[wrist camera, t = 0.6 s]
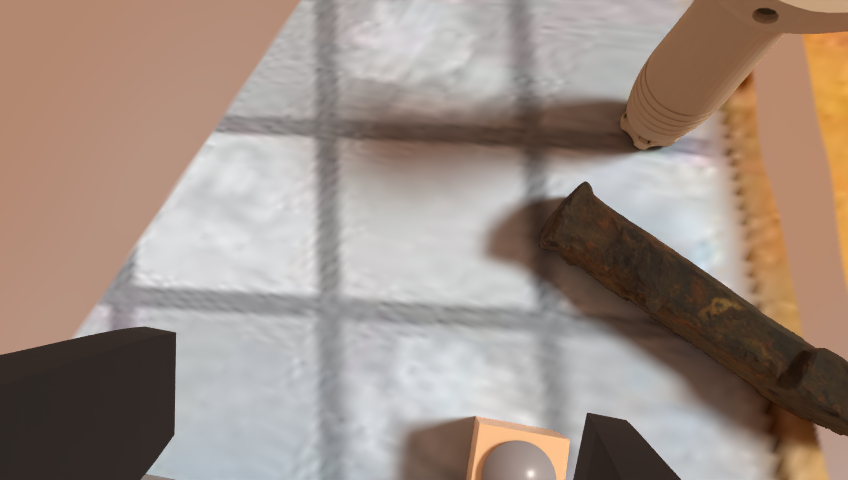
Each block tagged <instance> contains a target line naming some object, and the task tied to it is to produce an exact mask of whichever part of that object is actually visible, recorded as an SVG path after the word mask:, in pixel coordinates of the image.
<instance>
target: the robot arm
mask: <svg viewBox="0 0 848 480" xmlns="http://www.w3.org/2000/svg"><path fill="white" fill-rule="evenodd" d="M175 366H176V333H175V332H170V331H165V330H160V329H154V328H149V327H135V328H127V329H120V330H114V331H109V332H104V333H99V334H94V335H89V336H84V337H80V338H75V339H71V340H66V341H62V342H58V343H53V344H48V345H44V346H40V347H36V348H31V349H26V350H22V351H17V352H13V353H8V354H3V355H0V480H141V479H142V477H143V476H144V475H145V474H146V472H147V471H148V470H149V469H150V467H151V466H152V465H153V463H154V462H155V461H156V460H157V458H158V457H159V455H160V454H161V453H162V451H163V450H164V448H165V447H166V446H167V444H168V443H169V441H170V440H171V439H172V437H173V436H174V427H175ZM573 480H681V479H680V478H679V477H678V476H677V475H676V473H675V472H674V471H673V470H672V469H671V468H670V467H669V466H668V465H667V464H666V463H665V461H664V460H663V459H662V458H661V457H660V456H659V455H658V454H657V453H656V451H655V450H654V449H653V448H652V447H651V446H650V445H649V444H648V443H647V441H646V440H645V439H644V438H643V437H642V436H641V435H640V434H639V433H638V432H637V430H636V429H635V428H634V427H633V426H632V425H631V424H630V423H629V422H628V421H626V420H622V419H617V418H612V417H607V416H602V415H597V414H592V413H587V416H586V421H585V426H584V431H583V435H582V440H581V445H580V450H579V455H578V460H577V464H576V469H575V474H574V479H573Z"/></svg>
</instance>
